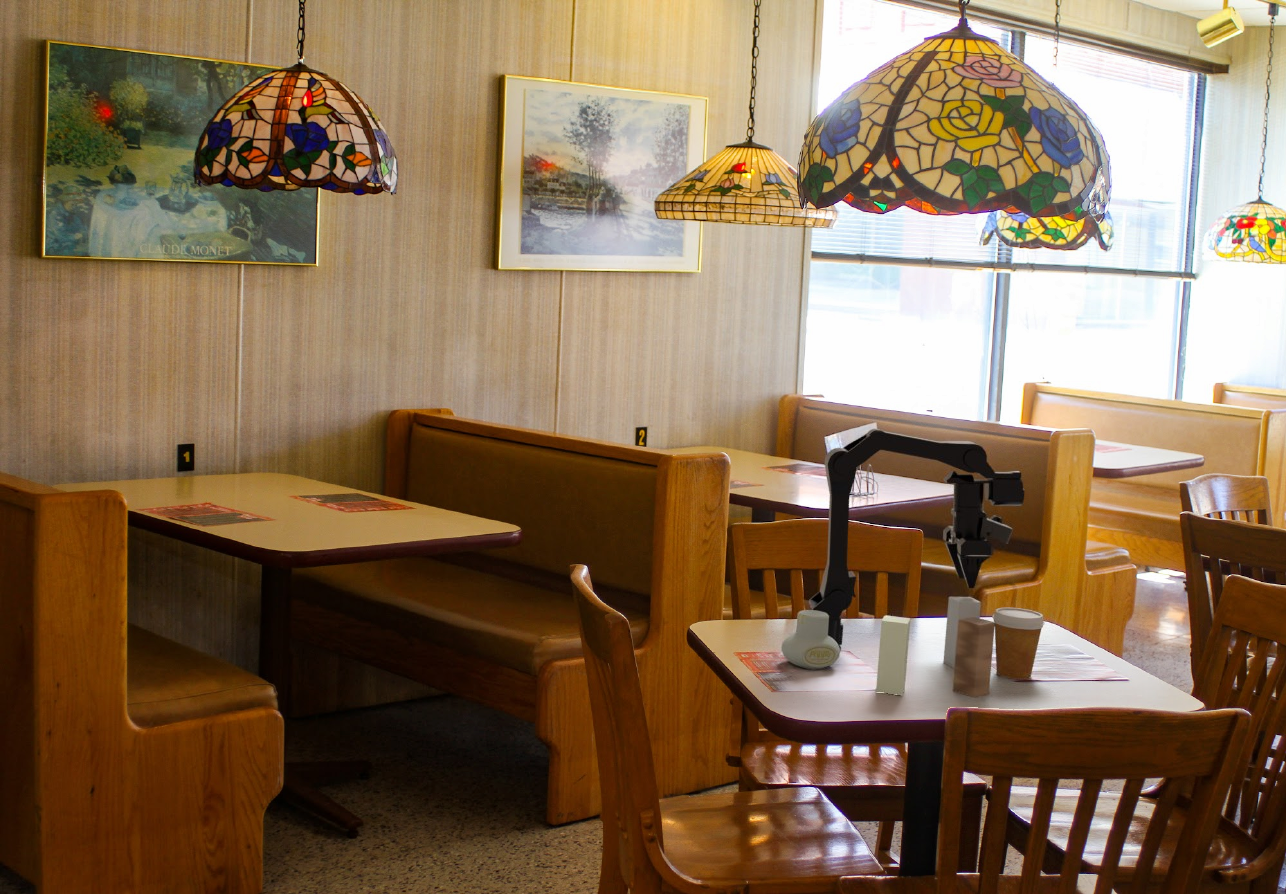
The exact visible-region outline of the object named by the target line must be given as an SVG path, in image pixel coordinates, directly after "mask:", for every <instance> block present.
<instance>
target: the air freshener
mask: <svg viewBox="0 0 1286 894" xmlns="http://www.w3.org/2000/svg"><path fill="white" fill-rule="evenodd" d="M796 616H797V618H796V626H795V627H796V628H795V629H796V631H795V632H794V633H791V634H790V635H788V636H787V637H785V638H784V640H783V641H782V644H781V653H782V655H783V656H784V657H785V659H786V661H788V662H790V663H791V664H793V665H795V666H798V667H800V668H803V669H806V668H807V670H813V669H818V670H822V669H824V668H827V667H829V666H831V665H833V664H834V663H835V662H836V661H838V659H839V658H840V654H841V649H840V648H839V646H838V644H837V642H836V641H835V640H834V639H833V638H831V637H830V636H828V623H829V615H828V614H827V613H825V612H821V611H816V610H811V609H804V610H803V609H802V610H800V611H798V612H797V615H796Z"/></svg>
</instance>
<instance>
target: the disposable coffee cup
mask: <svg viewBox="0 0 1286 894" xmlns="http://www.w3.org/2000/svg"><path fill="white" fill-rule="evenodd" d="M994 611H995V612H994V614H992V616H991V617H992V619H993V622H995V628H994V643H995V665H996V667H995V669H996V671H995V672H996V674H998V676H1001V677H1003V678H1007V679H1013V680H1028V679H1030V678H1031V676H1032V673H1033V669H1034V668H1033V667H1034V664H1035V660H1036V655H1037V650H1038V647H1039V641H1040V636H1041V632H1042V628H1044V625H1045V623H1046V622H1045V620H1044V616H1043V614H1042V613H1040V612H1038V611H1034V610H1032V609H1027V608H1018V607H999V608H996V609H995V610H994Z"/></svg>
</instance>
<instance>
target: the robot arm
mask: <svg viewBox="0 0 1286 894" xmlns="http://www.w3.org/2000/svg"><path fill="white" fill-rule="evenodd" d="M880 451H884V452H891V453H894V454H895V453H896V454H901V455H906V456H912V457H915V458H916V457H917V458H921V459H928V460H934V461H937V462H941V463H943V464H945V465H948V466H950V467H952V468H955V469H958V470H961V471H963V472H965V473H966V474H965V473H957V471H955V470H954V469H953V470H951V471H950V472H949V473H948V474H947V475H946V476H944V477H943V481H944V482H945V483H947V484H953V503H952V505H953V507H952V508H951V509H950V513H951V514H950V515H952V525H947V526H946V527H945V528H944V529H943V534H942V539H943V541H944V545H945V547H946V549H947V552H948V554H949V556H950V557H949V558H950V560H951V562H952V564H953V566H954V569H955V573H956V574H957V577H958V579H961V580H964V579H965V582H966V584H967V588H968V589H975V587H976V583H977V581H978V577H979V573H980V570H981V567H982V564H983V563H985V561H987V560H988V559H990V558H991V556H994V544H993V543H991V541H990V540H989V539H988V537H989V538H992V539H995V540H998V541H1000V542H1001V543H1003V544H1007V545H1008V544H1009V541H1010V539H1011V536H1012V534H1013V530H1014V529H1013V528H1012V527H1010V526H1009V525H1007V524H1004V523H1003V518H1002V517H1000V516H997V515H995V514H993V515H992V516H990V517H989V518H988V514H987V513H986V512H985V511H984V498H985V500H986V501H989V502H990V505H991V506H994V507H995V506H1000V507H1001V506H1002V507H1003V506H1004V507H1005V506H1009V507H1012V506H1013V507H1017V506H1018V507H1019V506H1020V507H1021V506H1023V503H1024V501H1025V489H1024V483H1023V480H1022V472H1021V471H1019V470H1011V471H995V470H994V468H992V466H991V465H990V464H989V462H988V461H987V460H988V455H987V452H986V450H985V449H984V448H983V446H982V445H980V444H977V443H976V442H973V441H969V440H941V441H940V440H934V439H932V440H931V439H927V438H922V437H916V436H911V435H906V434H900V433H895V432H890V431H885V430H882V429H879V428H872V429H870V430H869V431H867V433H865V434H864V435H861V436H860V437H858V438H856V439H854V440H852V441H851V442H849V443H847V444H846V445H845V446H843V447H834V448H833V449H831V450H829V451H828V452H827V453H826V455H825V457H824V467H825V468H824V469H825V476H826V482H827V487H828V491H829V492H828V493H829V501H828V502H829V504H828V507H829V508H828V532H827V533H828V537H827V539H828V540H827V560H826V561H827V562H826V566H825V569H824V572H823V575H822V580H821V584H820V589H819V591H818V592H817V593H815V594H814V595H813V596H812V597H811V598H809V600H808V604H809V607H810V610H816V611H821V612H825V613H827V614H828V615H829V623H828V636H830V637H831V638H833V639H834V640H835V641H836V642H837V644H838V646H839V648H840V650H841V649H842V644H843V635H844V634H843V633H844V624H843V623H842V617H841V615H842V614H843V612H844V611H846V610H847V609H848V608H849V607H850V606H851V605H852V601H853V598H856V597H857V596H856V593H855V587H856V586H855V585H856V582H857V581H856V579H857V576H856V575H855V574H854V571H852V570H851V571H849V570H848V550H849V549H848V547H849V546H848V545H849V517H850V497H851V492H852V490H853V486H854V482H855V477H856V474H857V469H858V467H859V466H861V465H863V464H865V462H866V461H868V460H869V459H870V458H871V457H873V456H874V455H875V454H876V453H878V452H880ZM974 473H975V474H978V475H979V476H981V477H983V478H974V476H973V474H974Z"/></svg>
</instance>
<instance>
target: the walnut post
mask: <svg viewBox="0 0 1286 894" xmlns="http://www.w3.org/2000/svg"><path fill="white" fill-rule="evenodd" d="M994 640H995V622H994V621H992V620H991V621H990V620H988V619H983V618H981V617H980V618H976V617H971V618H965V619H959V622H958V634H957V646H956V658H955V669H954V672H953V673H954V674H953V684H952V691H953V692H956V693H960V694H963V695H965V696H968V697H973V698H975V697H980V696H984V695H988V694H990V681H991V673H992V661H993V649H994Z"/></svg>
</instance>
